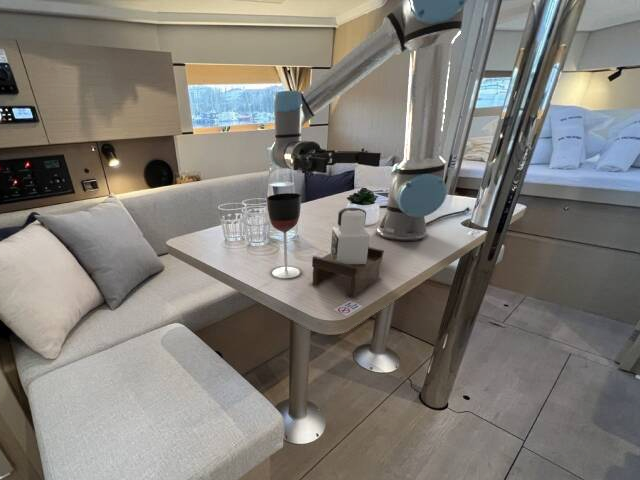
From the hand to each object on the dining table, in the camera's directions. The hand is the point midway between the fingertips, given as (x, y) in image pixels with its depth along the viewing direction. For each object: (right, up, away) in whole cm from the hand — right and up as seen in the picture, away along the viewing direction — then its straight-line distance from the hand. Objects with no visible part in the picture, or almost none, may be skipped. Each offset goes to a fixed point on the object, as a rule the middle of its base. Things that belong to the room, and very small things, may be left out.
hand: (352, 162), depth 67 cm
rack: (+2, -25, +12) cm, 28 cm away
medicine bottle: (+2, -20, +9) cm, 22 cm away
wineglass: (-13, -22, +19) cm, 31 cm away
